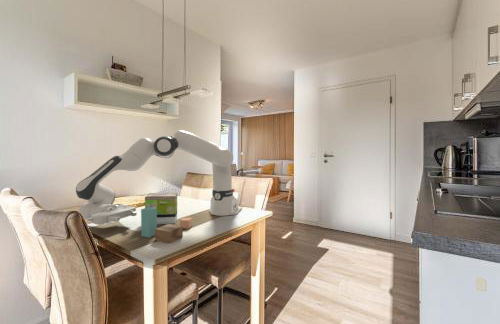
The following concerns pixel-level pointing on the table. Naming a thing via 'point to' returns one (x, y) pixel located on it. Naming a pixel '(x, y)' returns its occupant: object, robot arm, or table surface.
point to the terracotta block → (186, 222)
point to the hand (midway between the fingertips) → (127, 216)
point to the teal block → (148, 221)
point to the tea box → (163, 206)
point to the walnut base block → (168, 233)
